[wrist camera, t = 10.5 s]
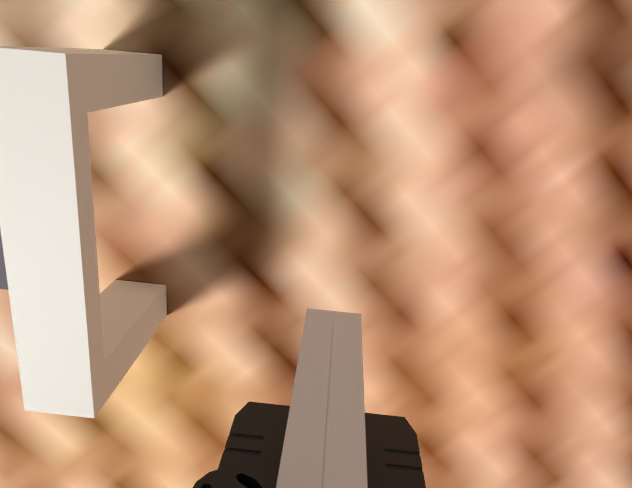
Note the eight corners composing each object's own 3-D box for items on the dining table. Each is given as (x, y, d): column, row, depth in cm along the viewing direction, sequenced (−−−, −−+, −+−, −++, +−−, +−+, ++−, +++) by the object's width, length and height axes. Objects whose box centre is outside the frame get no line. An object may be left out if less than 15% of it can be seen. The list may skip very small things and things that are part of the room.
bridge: (161, 54, 26) (65, 53, 17) (166, 315, 31) (94, 418, 22) (102, 49, 26) (-25, 45, 17) (116, 310, 31) (24, 410, 22)
